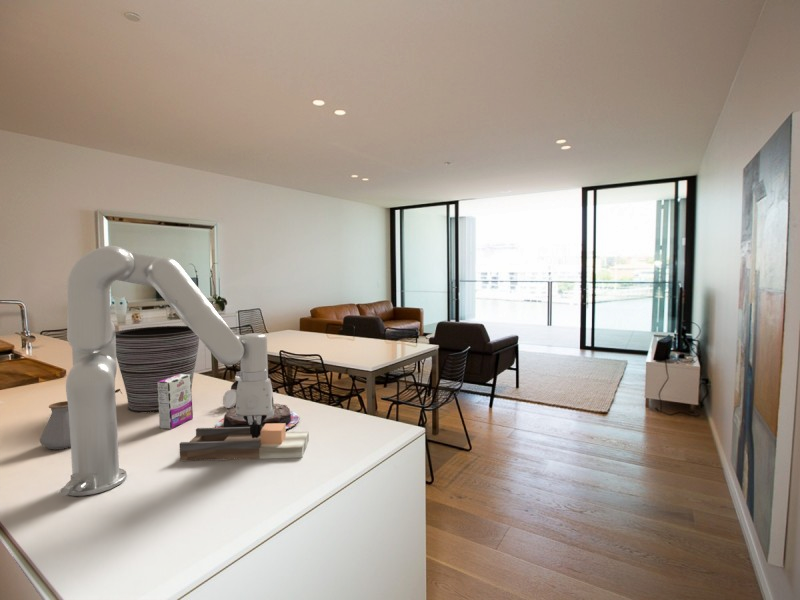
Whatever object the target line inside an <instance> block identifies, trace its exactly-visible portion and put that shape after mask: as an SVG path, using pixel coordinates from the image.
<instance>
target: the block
mask: <svg viewBox="0 0 800 600" xmlns="http://www.w3.org/2000/svg"><path fill="white" fill-rule="evenodd" d="M260 432H261V444H282V442H283V440H284V439H285V437H286V432H287V430H286V423H273V424H265V425H264V427H263V428H262V429H261V431H260Z"/></svg>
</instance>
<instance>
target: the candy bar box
mask: <svg viewBox="0 0 800 600" xmlns="http://www.w3.org/2000/svg"><path fill="white" fill-rule="evenodd" d="M157 387H158V403H159V412H158V417H159V418H158V419H159V428H160V429H161V428H163V429H164V430H173V429H174V428H177V427H179V426H181V425H183V424H184V423H187V422H188V421H191V420H193V419H194V414H193V411H194V410H193V398H192V396H193V395H192V392H193V391H192V389H191V375H188V374H179V375H176V376H173V377H170V378H167V379H164V380H162V381H159V382H157Z"/></svg>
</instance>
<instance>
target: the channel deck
mask: <svg viewBox="0 0 800 600" xmlns="http://www.w3.org/2000/svg"><path fill="white" fill-rule="evenodd" d="M262 428H263V427H262ZM309 440H310V439H309V431H286V437H285V439H284V440H283V442H282V444H261V434H260V435H259V437H258V438H252V434H250V427H223V428H215V427H197V428H196V429H195V436H194V437H193V438H192V439H190V441H181V442H180V443H179V461H180V462H186V461H187V462H188V461H193V462H195V461H219V460H220V461H223V460H224V461H225V460H227V461H228V460H229V459H231V460H256V459H257V460H258V459H262V460H264V459H292V458H297V459H298V458H300V459H301V458H303V457H304V454H305V452H306V448H307V446H308V444H309V442H310V441H309Z"/></svg>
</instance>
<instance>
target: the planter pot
mask: <svg viewBox="0 0 800 600" xmlns="http://www.w3.org/2000/svg"><path fill="white" fill-rule="evenodd" d="M115 333H116V362H117V364H118V368H119V371H120V375H121V377H122V381H123V385H124V390H125V392H126V393H125V394H126V398H127V399H126V400H127V409H128V410H129V411H130V412H134V413H140V412H147V413H148V412H149V413H159V403H158V387H157V382H159V381H162V380H164V379H167V378H170V377H173V376H176V375H179V374H188V375H191V390H192V387H193V379H194V373H195V367H196V364H197V357H198V351H199V344H200V338H199V337H198V336H197V335H196V334H195V333H194V332H193V331H192V330H191V329H190V328H189V327H188V326H187V325H164V326H163V325H162V326H158V325H157V326H149V327H148V326H146V327H135V328H128V329H122V330H118V331H115Z"/></svg>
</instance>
